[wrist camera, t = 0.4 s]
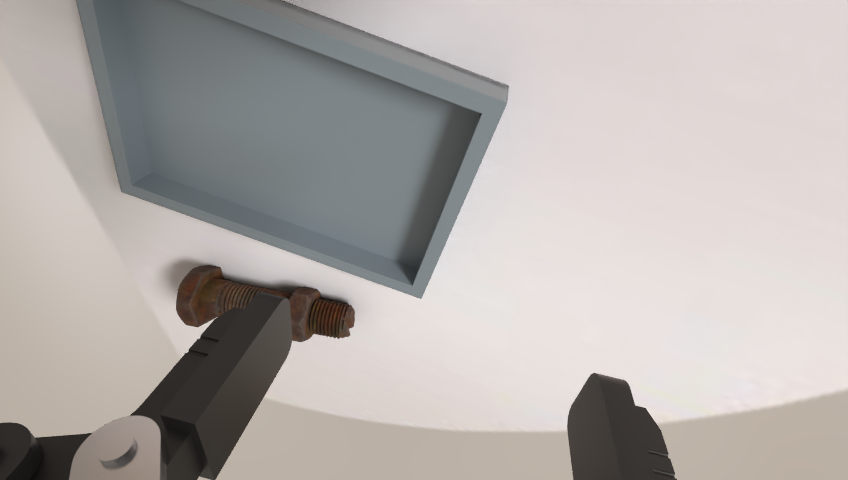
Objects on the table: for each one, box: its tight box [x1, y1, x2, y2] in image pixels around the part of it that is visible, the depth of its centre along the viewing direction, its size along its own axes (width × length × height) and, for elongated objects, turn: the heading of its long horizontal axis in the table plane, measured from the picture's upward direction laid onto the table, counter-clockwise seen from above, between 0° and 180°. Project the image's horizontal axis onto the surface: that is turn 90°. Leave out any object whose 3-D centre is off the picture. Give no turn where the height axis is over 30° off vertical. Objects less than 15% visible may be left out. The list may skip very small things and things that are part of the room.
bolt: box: [176, 265, 355, 342], centre depth 36 cm, size 6×5×15 cm
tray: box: [76, 0, 509, 299], centre depth 26 cm, size 16×24×3 cm, turn 73°
